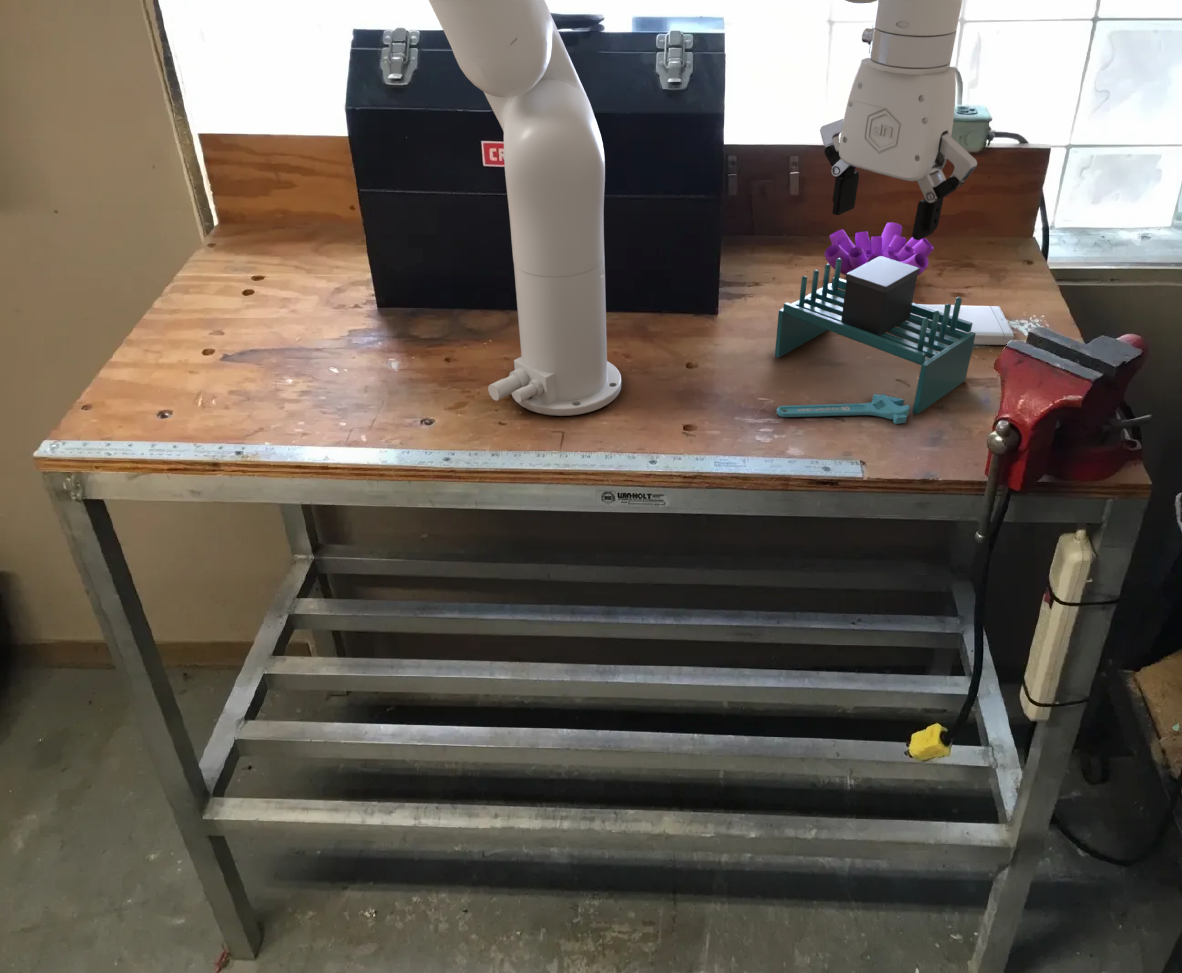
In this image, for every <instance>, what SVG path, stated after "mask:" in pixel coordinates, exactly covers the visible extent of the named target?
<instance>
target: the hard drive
mask: <svg viewBox="0 0 1182 973" xmlns="http://www.w3.org/2000/svg"><path fill="white" fill-rule="evenodd" d="M917 304H918V305H921V306H924V307H927V308H930V309H933V310H938V311H939V312H942V313H944V308H945V305H946V304H927V303H926V304H923V303H917ZM950 305H951V309H950V314H949V315H951V316H953V311H954V306H955V304H950ZM911 314H912V313H911ZM913 315H915V314H913ZM916 316H918V315H916ZM919 317H921V316H919ZM922 318H924V317H922ZM958 318H959V319H962V320H965V321H968V322H971V323H972V328H971V331H970V332H974V333H976V334H975V339H974V343H973V345H983V346H984V345H985V346H986V345H987V346H988V345H989V346H990V345H992V346H994V345H995V346H1007V345H1006V344H1007V343H1008V342H1009V341H1010V340H1013V341H1014V340H1015V334H1014V332H1013V330H1012V327H1011V326H1010V324H1009V322H1008V320H1007V317H1006V316H1005V314H1004V312H1003V310H1002V308H1001V307H1000V306H999V305H998V306H997V305H993V306H992V305H964V304H961V306H960V311H959V316H958ZM928 320H930V319H928ZM930 321H932V320H930ZM907 322H908V321H907ZM910 323H911V322H910ZM913 324H914V323H913ZM939 324H941V323H939ZM916 325H917V324H916ZM918 326H920V325H918ZM948 327H950V326H948ZM900 329H902V328H900ZM927 329H928V328H927ZM903 330H905V329H903ZM930 330H931V329H930ZM957 330H959V329H957ZM906 331H907V330H906ZM959 331H962V330H959ZM909 332H910V331H909ZM936 332H937V331H936ZM962 332H965V331H962ZM912 333H913V332H912ZM938 333H939V332H938ZM965 333H968V332H965ZM914 334H916V333H914ZM917 335H919V334H917ZM947 336H948V335H947ZM950 337H951V336H950ZM926 338H927V337H926ZM953 338H954V337H953ZM928 339H929V338H928ZM956 339H957V338H956ZM904 340H906V339H904ZM958 340H959V339H958ZM907 341H909V340H907ZM910 342H911V341H910ZM937 342H938V341H937ZM913 343H914V342H913ZM940 343H941V342H940ZM942 344H944V343H942Z"/></svg>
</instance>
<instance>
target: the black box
mask: <svg viewBox="0 0 1182 973" xmlns="http://www.w3.org/2000/svg"><path fill="white" fill-rule="evenodd" d="M919 270H920V268H918V267H915V266H911V265H908V264H905V263H902V262H899V261H895V260H892V259H889V258H886V257H883V256H879V257H877V258H875V259H873V260H871V261H870V262H868V263H866V264H864V265H862V266H860V267H858V268H856V269H854V270H853V271H851V272H849V273H847V274H846V275H845V280H846V288H845V290H844V291H845V296H844V304H843V307H842V308H843V311H842V316H841V317H842V319H841V322H842V323H845V324H847V325H850V326H853V327H855V328H858V329H861V330H864V331H866V332H869V333H872V334H874V335H877V336H881V335H883V334H884V333H887V332H888V331H889V330H891V329H893V328H894V327H896V326H897V325H899V324H901V323H902V322H904V321H906V320H907V319H909V318H910V314H911V309H912V303H914V297H915V289H916V285H917V281H918V280H917V279H918V276H917V274H919Z"/></svg>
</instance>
